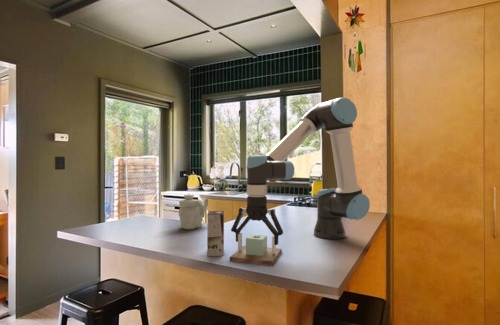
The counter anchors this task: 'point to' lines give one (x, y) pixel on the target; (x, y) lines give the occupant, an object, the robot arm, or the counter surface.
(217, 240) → the coffee box
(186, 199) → the teapot
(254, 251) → the pale green cube
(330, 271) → the counter surface
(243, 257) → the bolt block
